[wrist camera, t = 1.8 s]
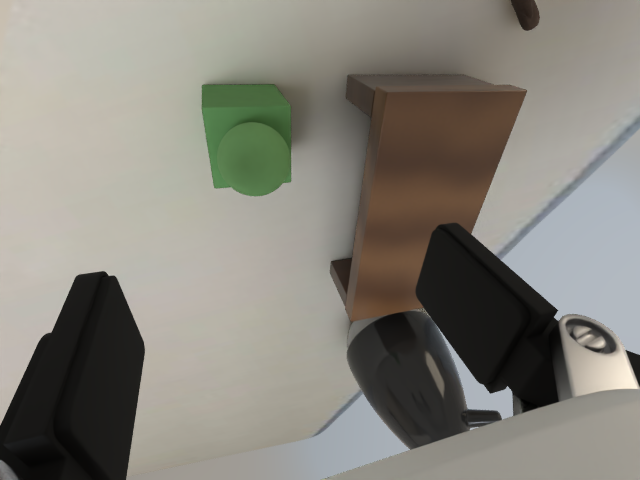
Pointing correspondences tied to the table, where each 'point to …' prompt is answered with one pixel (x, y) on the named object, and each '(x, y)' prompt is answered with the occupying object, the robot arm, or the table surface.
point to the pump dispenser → (411, 378)
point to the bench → (418, 177)
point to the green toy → (247, 137)
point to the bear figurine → (526, 13)
